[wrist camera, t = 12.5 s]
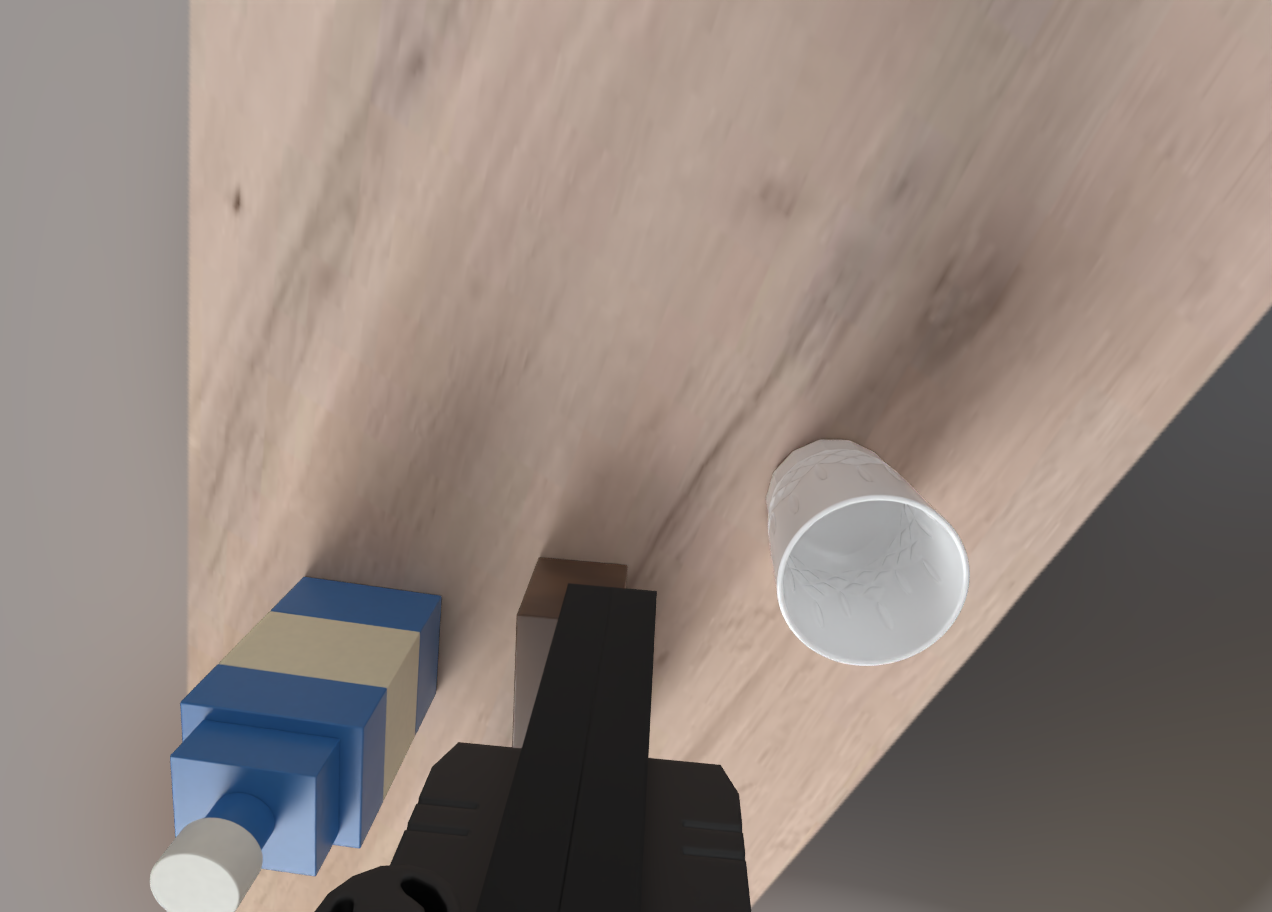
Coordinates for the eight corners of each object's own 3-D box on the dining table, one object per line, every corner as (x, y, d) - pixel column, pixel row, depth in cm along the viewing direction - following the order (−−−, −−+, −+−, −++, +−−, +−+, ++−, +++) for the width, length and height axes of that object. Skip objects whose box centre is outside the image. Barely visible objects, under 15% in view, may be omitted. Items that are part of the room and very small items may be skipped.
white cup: (788, 585, 44) (819, 692, 35) (731, 463, 42) (747, 541, 33) (925, 531, 43) (995, 626, 33) (872, 402, 41) (931, 464, 31)
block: (628, 564, 44) (620, 624, 38) (613, 744, 48) (604, 825, 42) (538, 556, 45) (516, 614, 38) (531, 736, 48) (509, 815, 42)
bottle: (555, 676, 40) (170, 855, 27) (543, 785, 42) (180, 998, 29) (384, 554, 49) (43, 644, 37) (381, 647, 51) (57, 762, 39)
